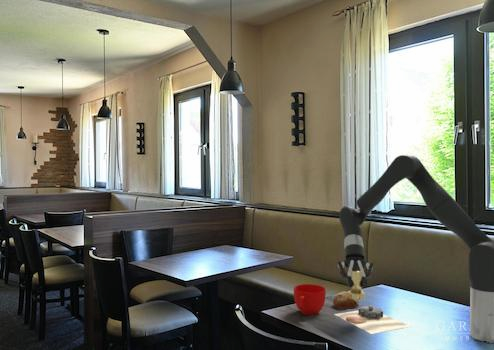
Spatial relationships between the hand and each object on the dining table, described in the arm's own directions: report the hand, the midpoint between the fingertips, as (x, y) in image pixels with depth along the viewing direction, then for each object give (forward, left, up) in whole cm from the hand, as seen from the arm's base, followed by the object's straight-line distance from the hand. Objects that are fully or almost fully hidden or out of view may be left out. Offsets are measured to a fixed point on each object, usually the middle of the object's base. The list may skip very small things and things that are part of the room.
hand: (356, 287), depth 163 cm
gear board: (-1, -6, -15) cm, 16 cm away
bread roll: (+20, -11, -15) cm, 27 cm away
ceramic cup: (+18, +10, -15) cm, 25 cm away
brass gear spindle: (+2, -1, -5) cm, 5 cm away
